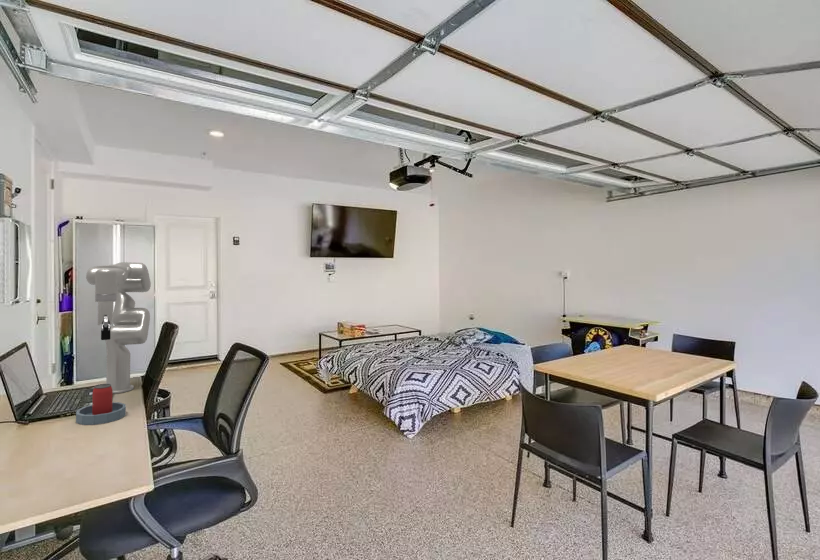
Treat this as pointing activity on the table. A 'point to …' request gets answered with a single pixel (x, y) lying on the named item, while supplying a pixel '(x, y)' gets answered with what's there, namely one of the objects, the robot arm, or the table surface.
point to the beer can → (102, 399)
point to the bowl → (100, 415)
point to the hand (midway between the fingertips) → (105, 337)
